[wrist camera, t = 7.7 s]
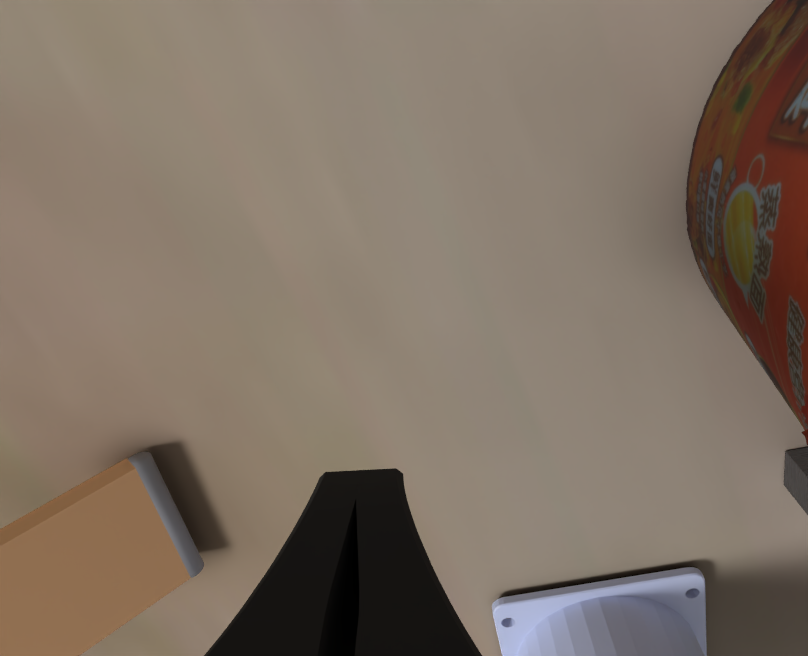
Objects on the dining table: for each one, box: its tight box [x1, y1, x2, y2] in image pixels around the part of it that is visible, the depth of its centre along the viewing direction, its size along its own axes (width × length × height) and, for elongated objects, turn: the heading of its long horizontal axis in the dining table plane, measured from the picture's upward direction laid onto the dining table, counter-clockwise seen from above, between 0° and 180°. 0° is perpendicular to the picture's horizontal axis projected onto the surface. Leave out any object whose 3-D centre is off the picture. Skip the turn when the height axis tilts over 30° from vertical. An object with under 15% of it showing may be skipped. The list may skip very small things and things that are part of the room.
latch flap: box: [0, 452, 204, 656], centre depth 21 cm, size 5×8×1 cm
